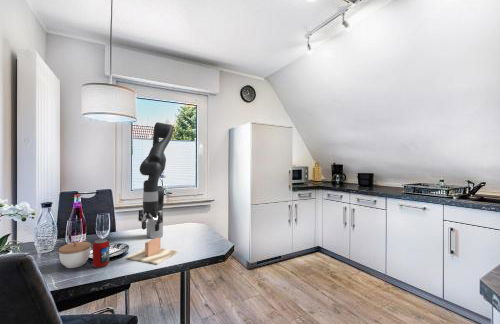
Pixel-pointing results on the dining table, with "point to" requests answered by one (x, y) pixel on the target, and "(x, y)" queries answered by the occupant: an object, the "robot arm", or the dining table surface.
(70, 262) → the lidded bowl
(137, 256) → the striped cloth
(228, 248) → the dining table surface
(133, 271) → the dining table surface
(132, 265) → the dining table surface
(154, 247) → the tile
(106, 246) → the beverage can
